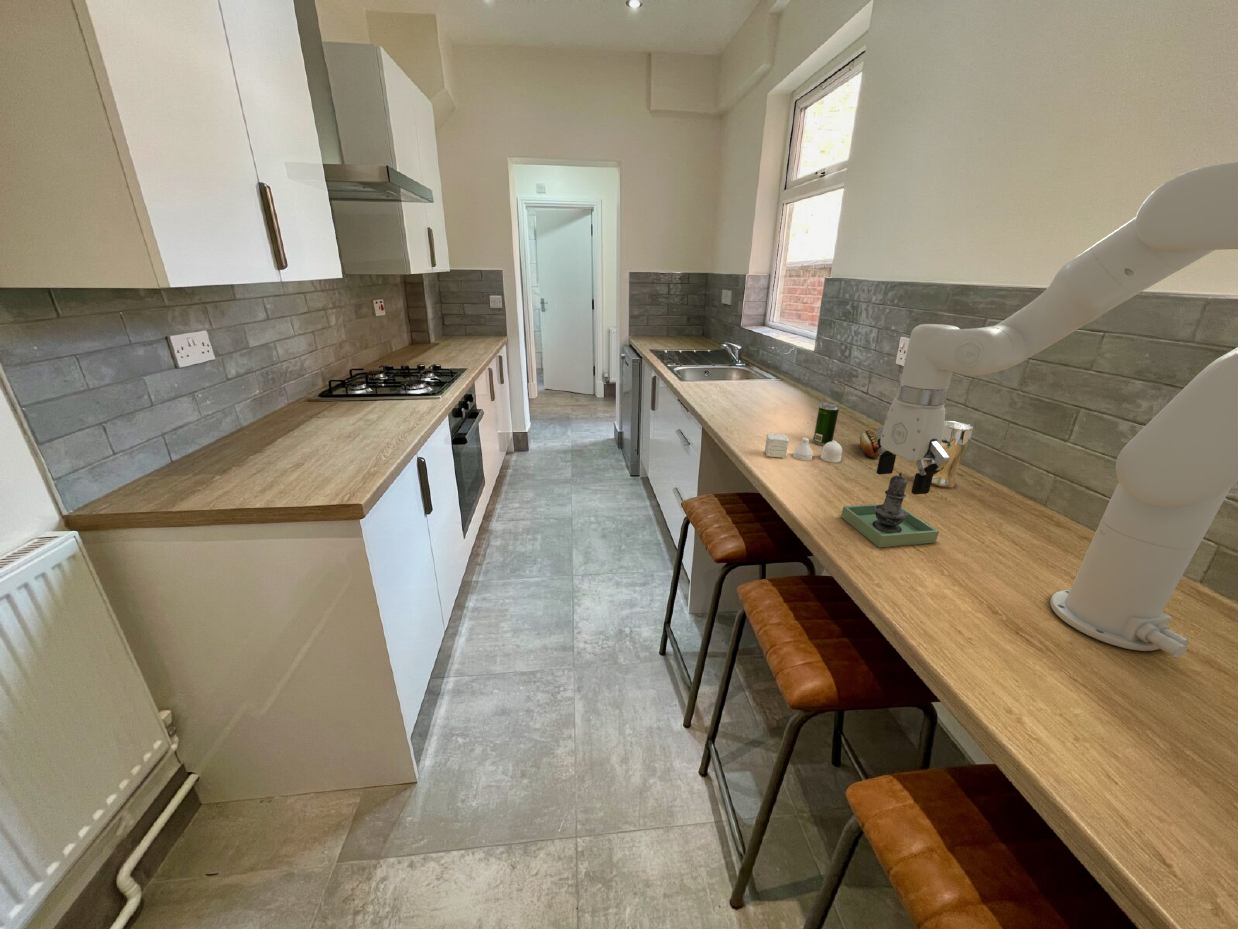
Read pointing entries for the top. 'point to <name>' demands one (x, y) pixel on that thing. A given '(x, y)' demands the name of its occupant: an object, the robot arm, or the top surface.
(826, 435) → the beer can
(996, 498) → the top surface
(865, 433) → the hot dog
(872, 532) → the serving tray
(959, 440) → the beer glass
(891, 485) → the salt shaker
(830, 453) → the container set
